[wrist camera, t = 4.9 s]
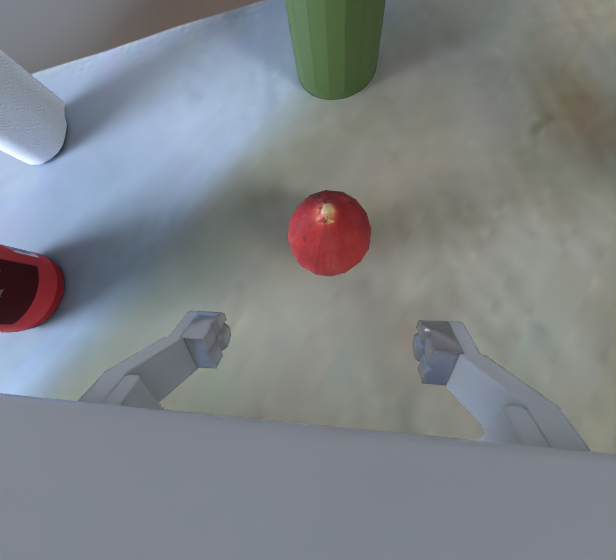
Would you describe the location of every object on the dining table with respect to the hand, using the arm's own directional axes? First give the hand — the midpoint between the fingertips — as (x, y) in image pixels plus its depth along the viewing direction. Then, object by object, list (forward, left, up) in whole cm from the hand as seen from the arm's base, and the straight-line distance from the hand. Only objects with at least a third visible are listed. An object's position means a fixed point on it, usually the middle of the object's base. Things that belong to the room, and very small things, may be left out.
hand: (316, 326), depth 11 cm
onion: (-4, -5, -10) cm, 12 cm away
